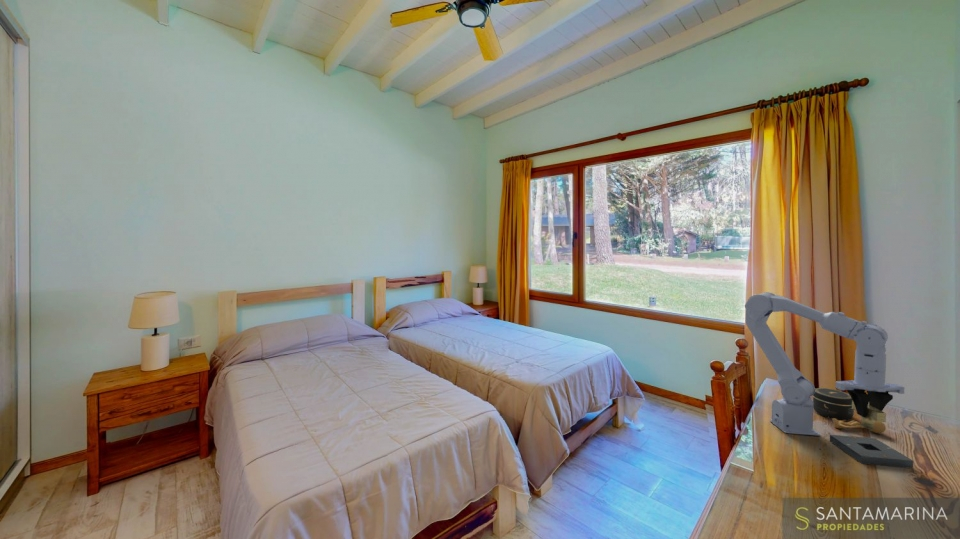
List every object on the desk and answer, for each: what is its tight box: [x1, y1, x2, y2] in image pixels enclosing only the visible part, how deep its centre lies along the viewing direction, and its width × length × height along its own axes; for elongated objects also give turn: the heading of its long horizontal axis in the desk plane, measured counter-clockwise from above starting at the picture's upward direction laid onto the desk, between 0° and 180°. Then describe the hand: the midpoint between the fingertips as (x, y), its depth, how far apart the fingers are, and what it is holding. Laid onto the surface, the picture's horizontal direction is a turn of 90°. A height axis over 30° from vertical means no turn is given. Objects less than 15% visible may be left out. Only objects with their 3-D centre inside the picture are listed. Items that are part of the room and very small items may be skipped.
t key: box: [852, 400, 887, 430], centre depth 97 cm, size 8×2×6 cm, turn 168°
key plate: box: [829, 434, 914, 469], centre depth 96 cm, size 11×11×2 cm
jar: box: [812, 387, 855, 422], centre depth 119 cm, size 10×10×8 cm
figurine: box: [831, 418, 887, 434], centre depth 108 cm, size 8×6×12 cm
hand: (867, 416), depth 97 cm, fingers closed on t key, 2 cm apart
